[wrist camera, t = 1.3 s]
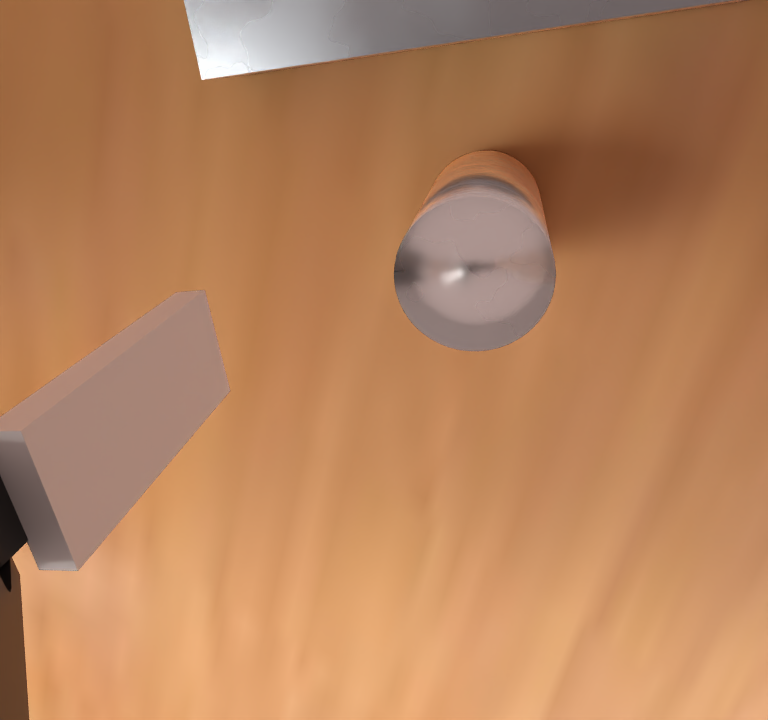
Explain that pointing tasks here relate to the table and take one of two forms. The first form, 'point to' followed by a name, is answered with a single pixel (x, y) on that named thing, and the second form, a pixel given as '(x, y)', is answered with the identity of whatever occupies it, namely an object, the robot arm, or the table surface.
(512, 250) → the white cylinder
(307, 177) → the table surface
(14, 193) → the table surface
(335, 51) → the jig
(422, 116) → the table surface
